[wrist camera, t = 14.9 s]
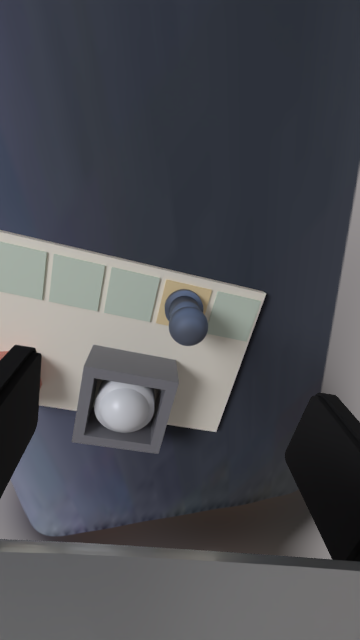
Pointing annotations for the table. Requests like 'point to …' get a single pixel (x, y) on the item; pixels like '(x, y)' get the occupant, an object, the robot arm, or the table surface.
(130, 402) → the dome
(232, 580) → the robot arm
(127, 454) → the table surface
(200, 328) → the pawn
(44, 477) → the table surface
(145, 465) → the table surface
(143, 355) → the dome housing
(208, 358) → the board
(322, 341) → the table surface
